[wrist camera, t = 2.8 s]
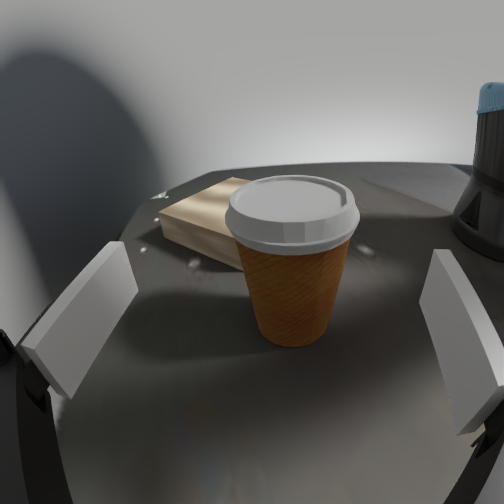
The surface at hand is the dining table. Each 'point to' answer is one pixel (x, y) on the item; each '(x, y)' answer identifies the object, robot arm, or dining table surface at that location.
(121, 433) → the dining table surface
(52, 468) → the robot arm
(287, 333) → the disposable coffee cup
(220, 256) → the wooden base block
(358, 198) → the dining table surface
